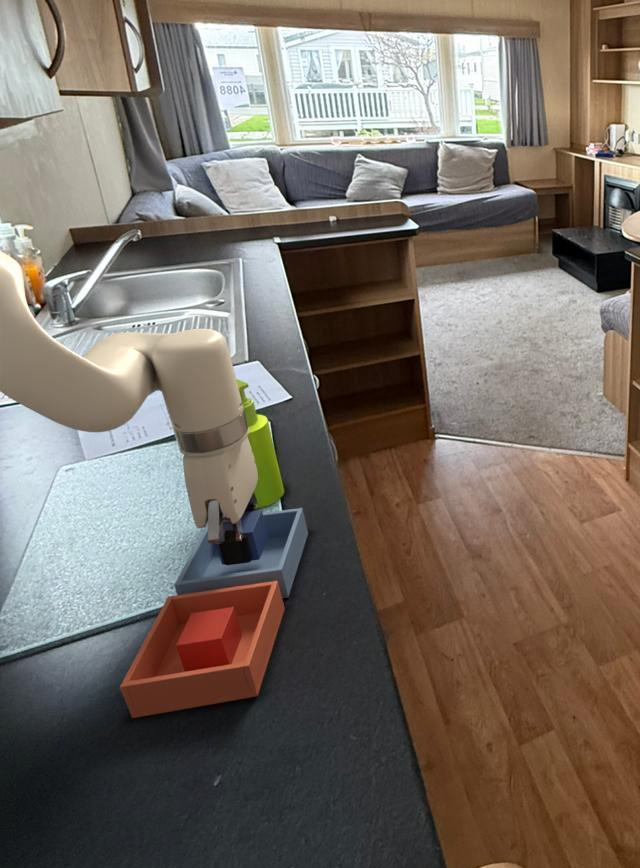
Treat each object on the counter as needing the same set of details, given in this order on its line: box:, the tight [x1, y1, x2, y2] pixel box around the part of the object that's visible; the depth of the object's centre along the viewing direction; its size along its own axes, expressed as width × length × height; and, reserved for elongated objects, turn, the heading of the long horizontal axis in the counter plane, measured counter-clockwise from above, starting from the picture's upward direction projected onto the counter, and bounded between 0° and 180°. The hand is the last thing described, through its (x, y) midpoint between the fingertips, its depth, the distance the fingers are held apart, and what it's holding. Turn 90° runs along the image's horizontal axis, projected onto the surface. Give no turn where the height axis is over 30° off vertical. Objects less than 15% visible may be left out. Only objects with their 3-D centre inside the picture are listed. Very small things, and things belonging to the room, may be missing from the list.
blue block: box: [216, 509, 268, 565], centre depth 85 cm, size 4×4×4 cm
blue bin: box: [174, 507, 309, 599], centre depth 86 cm, size 12×12×5 cm
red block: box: [176, 607, 242, 672], centre depth 73 cm, size 4×4×4 cm
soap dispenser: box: [236, 378, 285, 509], centre depth 98 cm, size 6×7×20 cm
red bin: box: [119, 581, 286, 719], centre depth 73 cm, size 12×12×5 cm
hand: (244, 547), depth 85 cm, fingers closed on blue block, 4 cm apart
